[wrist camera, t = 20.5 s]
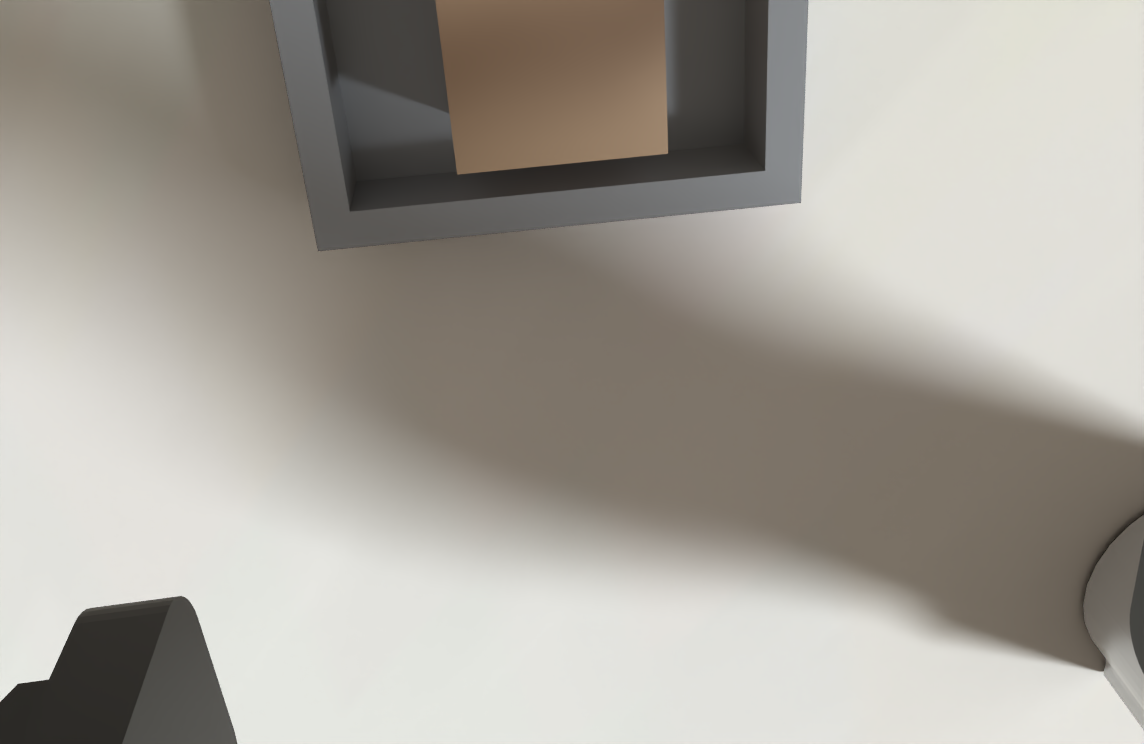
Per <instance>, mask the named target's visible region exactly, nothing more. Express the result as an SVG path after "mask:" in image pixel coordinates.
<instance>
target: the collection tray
mask: <svg viewBox="0 0 1144 744" xmlns="http://www.w3.org/2000/svg"><path fill="white" fill-rule="evenodd" d="M269 1H270V6H271V12H272V17H273V22H274V27H275V32H276V37H277V42H278V48H279V53H280V58H281V63H282V68H283V73H284V78H285V84H286V89H287V94H288V99H289V104H290V109H291V114H292V120H293V125H294V130H295V135H296V140H297V145H298V150H299V156H300V161H301V166H302V171H303V176H304V181H305V186H306V191H307V197H308V202H309V207H310V212H311V217H312V222H313V227H314V233H315V238H316V243H317V248H318V251H325V250H335V249H345V248H355V247H365V246H375V245H385V244H394V243H404V242H414V241H424V240H434V239H444V238H454V237H464V236H474V235H484V234H494V233H504V232H514V231H524V230H534V229H544V228H554V227H564V226H574V225H584V224H594V223H604V222H614V221H624V220H634V219H644V218H654V217H664V216H674V215H684V214H694V213H704V212H714V211H724V210H734V209H744V208H753V207H763V206H773V205H783V204H793V203H801V186H802V159H803V132H804V104H805V77H806V50H807V23H808V0H664V18H665V55H666V92H667V128H668V154H660V155H650V156H640V157H630V158H620V159H609V160H599V161H589V162H579V163H569V164H559V165H549V166H539V167H529V168H519V169H509V170H498V171H488V172H478V173H468V174H458V175H457V169H456V161H455V153H454V145H453V137H452V129H451V121H450V113H449V105H448V97H447V89H446V81H445V73H444V65H443V57H442V49H441V41H440V33H439V26H438V18H437V10H436V2H435V0H269Z"/></svg>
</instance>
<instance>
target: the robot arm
mask: <svg viewBox="0 0 1144 744" xmlns="http://www.w3.org/2000/svg"><path fill="white" fill-rule="evenodd" d="M1083 608H1084V621H1085V625H1086V627H1087V630H1088V632H1089V635H1090V637H1091V639H1092V640H1093V642H1094V643H1095V645H1096V646H1097V647H1098V649H1099V650H1100V651H1101V653H1102V654H1103V655H1104V657H1105V658H1106V665H1105V669H1104V676H1105V677H1106V679H1107V680H1108V681H1109V683H1110V684H1111V686H1112V687H1113V688H1114V690H1115V691H1116V692H1117V694H1118V695H1119V697H1120V698H1121V699H1122V701H1123V702H1124V704H1125V705H1126V706H1127V708H1128V709H1129V710H1130V712H1131V713H1132V715H1133V716H1134V717H1135V719H1136V720H1137V722H1138V723H1139V724H1140V726H1141V727H1142V728H1143V730H1144V515H1143V516H1141V517H1140V518H1139V519H1137V520H1136V521H1135V522H1133V523H1132V524H1131V525H1129V526H1128V527H1127V528H1126V529H1125V530H1124V531H1123V532H1122V533H1121V534H1120V535H1119V536H1118V537H1117V538H1116V539H1115V540H1114V541H1113V542H1112V543H1111V544H1110V546H1109V547H1108V549H1107V550H1106V551H1105V553H1104V554H1103V556H1102V557H1101V559H1100V560H1099V561H1098V563H1097V564H1096V566H1095V568H1094V571H1093V573H1092V575H1091V577H1090V580H1089V582H1088V584H1087V588H1086V593H1085V598H1084V603H1083ZM0 744H237V741H236V736H235V732H234V729H233V726H232V722H231V719H230V716H229V713H228V710H227V707H226V704H225V701H224V698H223V695H222V691H221V688H220V685H219V682H218V679H217V676H216V673H215V670H214V667H213V664H212V660H211V657H210V654H209V651H208V648H207V645H206V642H205V639H204V636H203V633H202V629H201V626H200V623H199V620H198V617H197V615H196V612H195V610H194V608H193V606H192V604H191V603H190V602H189V600H188V599H186V598H185V597H182V596H178V597H171V598H163V599H156V600H148V601H141V602H133V603H126V604H118V605H111V606H103V607H95V608H89V609H86V610H85V611H83V612H82V613H81V614H80V615H79V617H78V618H77V620H76V622H75V624H74V626H73V628H72V630H71V632H70V634H69V637H68V639H67V641H66V643H65V646H64V648H63V650H62V652H61V654H60V657H59V659H58V661H57V663H56V665H55V668H54V670H53V672H52V674H51V676H50V679H49V680H43V681H36V682H29V683H21V684H17V686H16V687H15V688H14V689H13V690H12V691H11V692H10V693H9V694H8V695H7V696H6V697H5V698H4V699H3V700H2V701H1V702H0Z"/></svg>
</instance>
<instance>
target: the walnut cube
mask: <svg viewBox="0 0 1144 744" xmlns="http://www.w3.org/2000/svg"><path fill="white" fill-rule="evenodd" d="M435 2H436V10H437V18H438V26H439V33H440V41H441V49H442V57H443V65H444V73H445V81H446V89H447V97H448V105H449V113H450V121H451V129H452V137H453V145H454V153H455V161H456V169H457V175H458V174H468V173H478V172H488V171H498V170H509V169H519V168H529V167H539V166H549V165H559V164H569V163H579V162H589V161H599V160H609V159H620V158H630V157H640V156H650V155H660V154H668V128H667V92H666V55H665V18H664V0H435Z"/></svg>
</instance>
